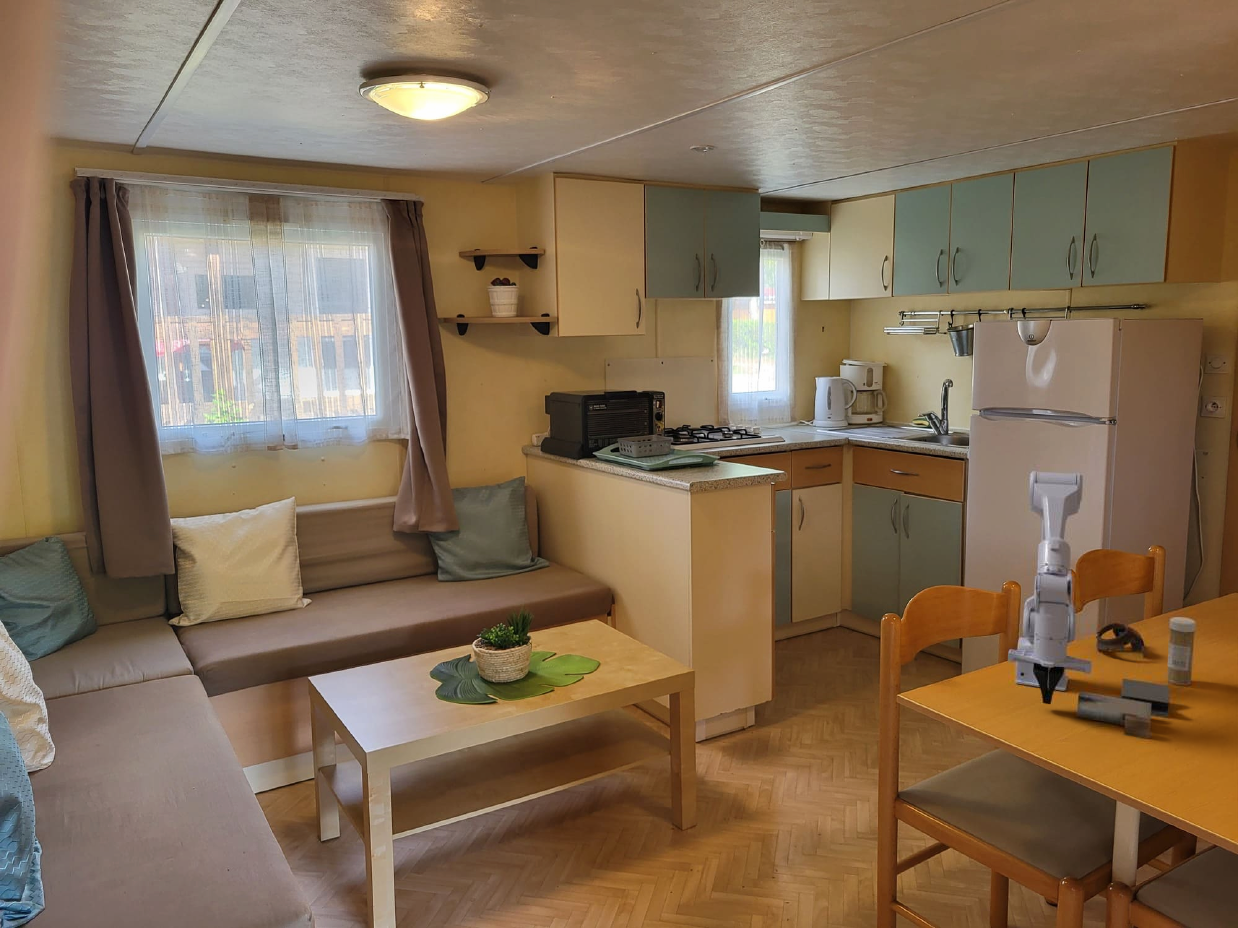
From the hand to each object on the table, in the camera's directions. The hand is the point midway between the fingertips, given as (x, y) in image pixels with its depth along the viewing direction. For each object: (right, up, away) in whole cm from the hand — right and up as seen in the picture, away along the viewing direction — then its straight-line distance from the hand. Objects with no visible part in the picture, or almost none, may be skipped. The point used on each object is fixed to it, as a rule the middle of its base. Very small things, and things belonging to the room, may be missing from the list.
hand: (1047, 701), depth 180 cm
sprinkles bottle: (+33, +1, +12) cm, 35 cm away
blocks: (+13, -3, -7) cm, 15 cm away
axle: (+10, -3, -5) cm, 12 cm away
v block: (+19, -1, +1) cm, 20 cm away
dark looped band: (+30, +3, +29) cm, 42 cm away
